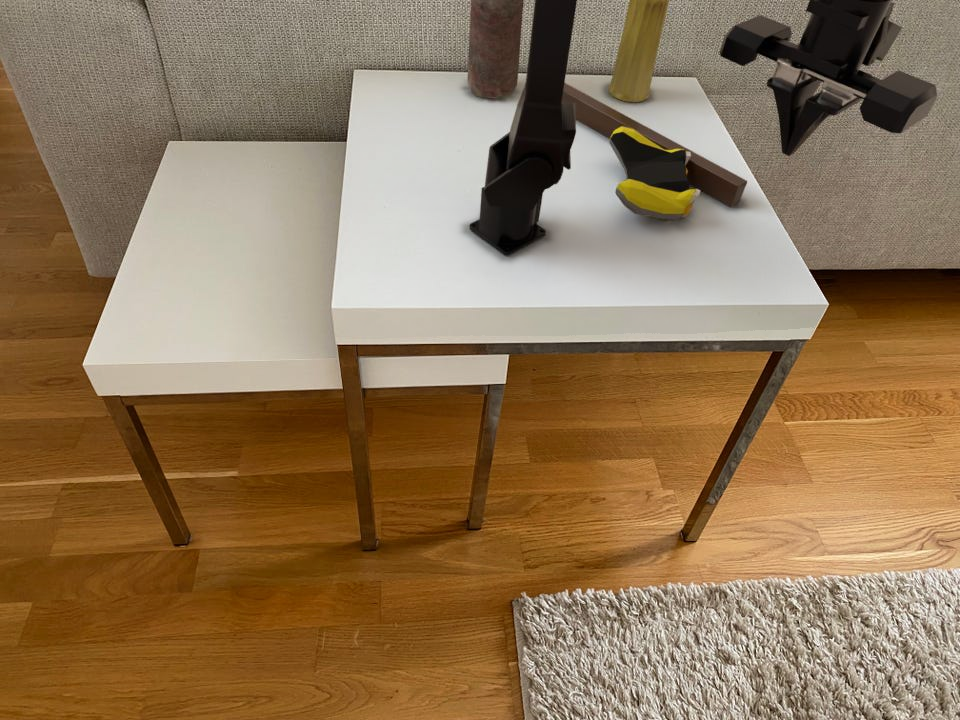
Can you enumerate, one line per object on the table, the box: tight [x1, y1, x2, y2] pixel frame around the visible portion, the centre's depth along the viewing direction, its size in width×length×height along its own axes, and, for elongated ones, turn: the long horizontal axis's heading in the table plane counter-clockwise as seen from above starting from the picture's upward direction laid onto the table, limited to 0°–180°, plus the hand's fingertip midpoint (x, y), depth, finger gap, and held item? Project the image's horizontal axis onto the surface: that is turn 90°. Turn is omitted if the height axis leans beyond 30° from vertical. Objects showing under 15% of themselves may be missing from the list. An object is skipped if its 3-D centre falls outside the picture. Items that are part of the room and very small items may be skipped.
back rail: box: [562, 82, 748, 208], centre depth 94 cm, size 2×34×3 cm, turn 42°
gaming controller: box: [608, 126, 702, 222], centre depth 85 cm, size 15×6×10 cm
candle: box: [467, 0, 525, 99], centre depth 97 cm, size 8×7×20 cm
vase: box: [608, 0, 670, 103], centre depth 100 cm, size 6×6×14 cm
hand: (787, 153), depth 71 cm, fingers closed
